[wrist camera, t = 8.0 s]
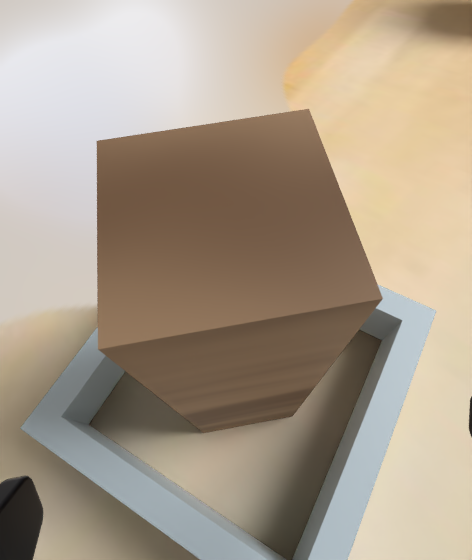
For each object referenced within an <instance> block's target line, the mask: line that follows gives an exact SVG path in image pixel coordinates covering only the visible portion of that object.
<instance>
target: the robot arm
mask: <svg viewBox="0 0 472 560" xmlns="http://www.w3.org/2000/svg"><path fill="white" fill-rule="evenodd" d="M469 431H470V434H471V436H472V397H471V399H470V414H469ZM42 521H43V507H42V504H41V501H40V499H39V496H38V493H37V491H36V488H35V486H34V483H33V481H32V479H31V478H30V477H29V476H21V477H15V478H10V479H7V480H5V481H3V482H2V483H1V484H0V560H33V556H34V552H35V548H36V544H37V541H38V537H39V533H40V529H41V525H42Z"/></svg>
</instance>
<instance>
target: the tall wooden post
mask: <svg viewBox="0 0 472 560" xmlns="http://www.w3.org/2000/svg"><path fill="white" fill-rule="evenodd" d="M97 256H98V257H97V262H98V263H97V266H98V268H97V269H98V270H97V272H98V350H99V351H101V352H102V353H103V354H104V355H106V356H107V357H108V358H109V359H111V360H112V361H113V362H114V363H116V364H117V365H118V366H120V367H121V368H122V369H123V370H125V371H126V372H127V373H128V374H130V375H131V376H132V377H133V378H135V379H136V380H137V381H138V382H140V383H141V384H142V385H144V386H145V387H146V388H147V389H149V390H150V391H151V392H152V393H154V394H155V395H156V396H157V397H159V398H160V399H161V400H162V401H164V402H165V403H166V404H167V405H169V406H170V407H171V408H173V409H174V410H175V411H176V412H178V413H179V414H180V415H181V416H183V417H184V418H185V419H186V420H188V421H189V422H190V423H191V424H193V425H194V426H195V427H197V428H198V429H199V430H200V431H202V432H203V433H206V432H211V431H217V430H222V429H227V428H232V427H238V426H243V425H248V424H253V423H259V422H264V421H269V420H274V419H279V418H285V417H290V416H293V415H294V413H295V412H296V411H297V410H298V408H299V407H300V406H301V404H302V403H303V402H304V400H305V399H306V398H307V397H308V395H309V394H310V393H311V391H312V390H313V389H314V387H315V386H316V385H317V384H318V382H319V381H320V380H321V378H322V377H323V376H324V374H325V373H326V372H327V371H328V369H329V368H330V367H331V365H332V364H333V363H334V362H335V360H336V359H337V358H338V356H339V355H340V354H341V352H342V351H343V350H344V349H345V347H346V346H347V345H348V343H349V342H350V341H351V339H352V338H353V337H354V336H355V334H356V333H357V332H358V330H359V329H360V328H361V326H362V325H363V324H364V323H365V321H366V320H367V319H368V317H369V316H370V315H371V314H372V312H373V311H374V310H375V308H376V307H377V306H378V304H379V303H380V302H381V301H382V299H383V297H382V295H381V292H380V290H379V287H378V285H377V282H376V280H375V277H374V274H373V272H372V269H371V267H370V264H369V262H368V259H367V257H366V254H365V251H364V249H363V246H362V244H361V241H360V239H359V236H358V234H357V231H356V228H355V226H354V223H353V221H352V218H351V216H350V213H349V211H348V208H347V205H346V203H345V200H344V198H343V195H342V193H341V190H340V188H339V185H338V182H337V180H336V177H335V175H334V172H333V170H332V167H331V165H330V162H329V159H328V157H327V154H326V152H325V149H324V147H323V144H322V142H321V139H320V136H319V134H318V131H317V129H316V126H315V124H314V121H313V119H312V116H311V113H310V111H309V109H305V110H299V111H292V112H285V113H279V114H272V115H266V116H259V117H252V118H246V119H240V120H232V121H226V122H219V123H214V124H206V125H200V126H193V127H186V128H179V129H173V130H166V131H160V132H153V133H147V134H141V135H133V136H127V137H121V138H113V139H107V140H100V141H97Z"/></svg>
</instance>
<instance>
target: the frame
mask: <svg viewBox="0 0 472 560" xmlns="http://www.w3.org/2000/svg"><path fill="white" fill-rule="evenodd" d="M377 285H378V284H377ZM378 287H379V290H380V292H381V295H382V297H383V299H382V301H381V302H380V303H379V304H378V306H377V307H376V308H375V310H374V311H373V312H372V314H371V315H370V316H369V317H368V319H367V320H366V321H365V323H364V324H363V325H362V326H361V328H360V329H359V330H361V331H363V332H365V333H367V334H369V335H372V336H374V337H376V338H378V339H380V340H382V342H381V344H380V346H379V349H378V351H377V354H376V356H375V359H374V361H373V364H372V366H371V368H370V371H369V373H368V376H367V378H366V381H365V383H364V385H363V388H362V390H361V393H360V395H359V398H358V400H357V403H356V405H355V407H354V410H353V412H352V415H351V417H350V420H349V422H348V425H347V427H346V429H345V432H344V434H343V437H342V439H341V442H340V444H339V446H338V449H337V451H336V454H335V456H334V459H333V461H332V464H331V466H330V468H329V471H328V473H327V476H326V478H325V481H324V483H323V485H322V488H321V490H320V493H319V495H318V498H317V500H316V503H315V505H314V507H313V510H312V512H311V515H310V517H309V520H308V522H307V525H306V527H305V529H304V532H303V534H302V537H301V539H300V542H299V544H298V546H297V549H296V551H295V554H294V556H293V559H292V560H348V557H349V554H350V551H351V548H352V546H353V543H354V540H355V537H356V534H357V532H358V529H359V526H360V523H361V520H362V518H363V515H364V512H365V509H366V506H367V504H368V501H369V498H370V495H371V492H372V490H373V487H374V484H375V481H376V478H377V476H378V473H379V470H380V467H381V464H382V462H383V459H384V456H385V453H386V450H387V448H388V445H389V442H390V439H391V436H392V434H393V431H394V428H395V425H396V422H397V420H398V417H399V414H400V411H401V408H402V406H403V403H404V400H405V397H406V394H407V392H408V389H409V386H410V383H411V380H412V378H413V375H414V372H415V369H416V366H417V364H418V361H419V358H420V355H421V352H422V350H423V347H424V344H425V341H426V338H427V336H428V333H429V330H430V327H431V324H432V322H433V319H434V316H435V313H436V310H434V309H431V308H429V307H427V306H425V305H422V304H420V303H418V302H416V301H413V300H411V299H409V298H407V297H404V296H402V295H400V294H398V293H395V292H393V291H391V290H389V289H387V288H384V287H382V286H380V285H378ZM124 373H125V370H123V369H122V368H121V367H120V366H118V365H117V364H116V363H114V362H113V361H112V360H111V359H109V358H108V357H107V356H106V355H104V354H103V353H102V352H101V351H99V350H98V327H97V328H96V330H95V331H94V332H93V334H92V335H91V336H90V338H89V339H88V340H87V341H86V343H85V344H84V345H83V347H82V348H81V349H80V351H79V352H78V353H77V355H76V356H75V357H74V358H73V360H72V361H71V362H70V364H69V365H68V366H67V368H66V369H65V370H64V371H63V373H62V374H61V375H60V377H59V378H58V379H57V381H56V382H55V383H54V385H53V386H52V387H51V388H50V390H49V391H48V392H47V394H46V395H45V396H44V398H43V399H42V400H41V402H40V403H39V404H38V405H37V407H36V408H35V409H34V411H33V412H32V413H31V415H30V416H29V417H28V419H27V420H26V421H25V422H24V424H23V425H22V426H21V428H20V429H22V430H23V431H24V432H26V433H27V434H28V435H30V436H31V437H33V438H34V439H35V440H37V441H38V442H39V443H41V444H42V445H44V446H45V447H46V448H48V449H49V450H50V451H52V452H53V453H55V454H56V455H57V456H59V457H60V458H61V459H63V460H64V461H66V462H67V463H68V464H70V465H71V466H72V467H74V468H75V469H76V470H78V471H79V472H81V473H82V474H83V475H85V476H86V477H87V478H89V479H90V480H92V481H93V482H94V483H96V484H97V485H98V486H100V487H101V488H103V489H104V490H105V491H107V492H108V493H109V494H111V495H112V496H114V497H115V498H116V499H118V500H119V501H120V502H122V503H123V504H125V505H126V506H127V507H129V508H130V509H131V510H133V511H134V512H135V513H137V514H138V515H140V516H141V517H142V518H144V519H145V520H146V521H148V522H149V523H151V524H152V525H153V526H155V527H156V528H157V529H159V530H160V531H162V532H163V533H164V534H166V535H167V536H168V537H170V538H171V539H173V540H174V541H175V542H177V543H178V544H179V545H181V546H182V547H184V548H185V549H186V550H188V551H189V552H190V553H192V554H193V555H194V556H196V557H197V558H199V559H200V560H287V559H285V558H284V557H282V556H281V555H279V554H278V553H276V552H275V551H273V550H272V549H270V548H269V547H268V546H266V545H265V544H263V543H262V542H260V541H259V540H257V539H256V538H254V537H253V536H251V535H250V534H248V533H247V532H246V531H244V530H243V529H241V528H240V527H238V526H237V525H235V524H234V523H232V522H231V521H229V520H228V519H226V518H225V517H224V516H222V515H221V514H219V513H218V512H216V511H215V510H213V509H212V508H210V507H209V506H207V505H206V504H204V503H203V502H202V501H200V500H199V499H197V498H196V497H194V496H193V495H191V494H190V493H188V492H187V491H185V490H184V489H182V488H181V487H180V486H178V485H177V484H175V483H174V482H172V481H171V480H169V479H168V478H166V477H165V476H163V475H162V474H160V473H159V472H158V471H156V470H155V469H153V468H152V467H150V466H149V465H147V464H146V463H144V462H143V461H141V460H140V459H138V458H137V457H136V456H134V455H133V454H131V453H130V452H128V451H127V450H125V449H124V448H122V447H121V446H119V445H118V444H116V443H115V442H114V441H112V440H111V439H109V438H108V437H106V436H105V435H103V434H102V433H100V432H99V431H97V430H96V429H94V428H93V427H92V426H90V425H89V423H90V422H91V420H92V419H93V417H94V416H95V414H96V413H97V412H98V410H99V409H100V407H101V406H102V404H103V403H104V402H105V400H106V399H107V397H108V396H109V394H110V393H111V391H112V390H113V389H114V387H115V386H116V384H117V383H118V381H119V380H120V378H121V377H122V376H123V374H124Z"/></svg>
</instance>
